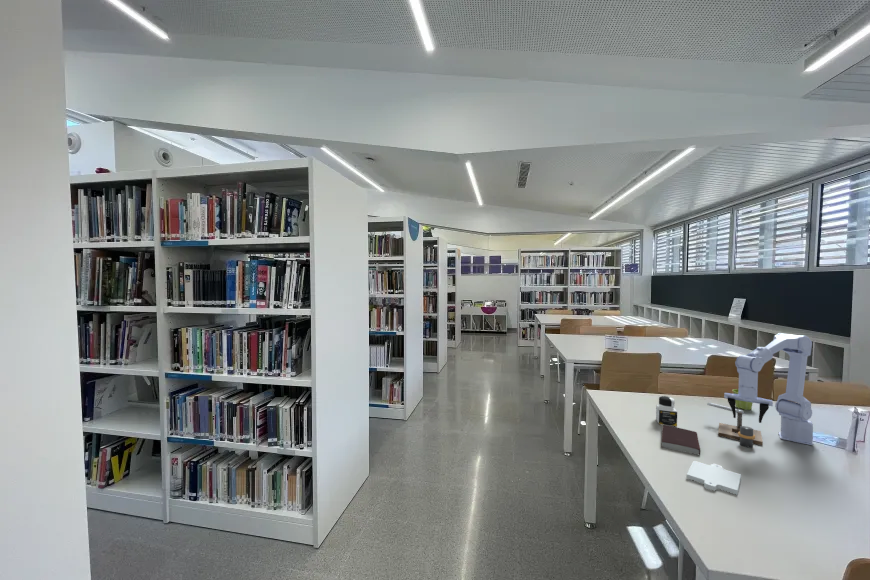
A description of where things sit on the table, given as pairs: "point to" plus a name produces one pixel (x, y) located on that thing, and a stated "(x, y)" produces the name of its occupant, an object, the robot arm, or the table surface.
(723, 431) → the socket block
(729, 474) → the mounting plate
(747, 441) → the plug
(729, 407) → the grey rectangular bar
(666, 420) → the medicine bottle
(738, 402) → the plant pot
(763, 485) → the table surface
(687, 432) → the book
